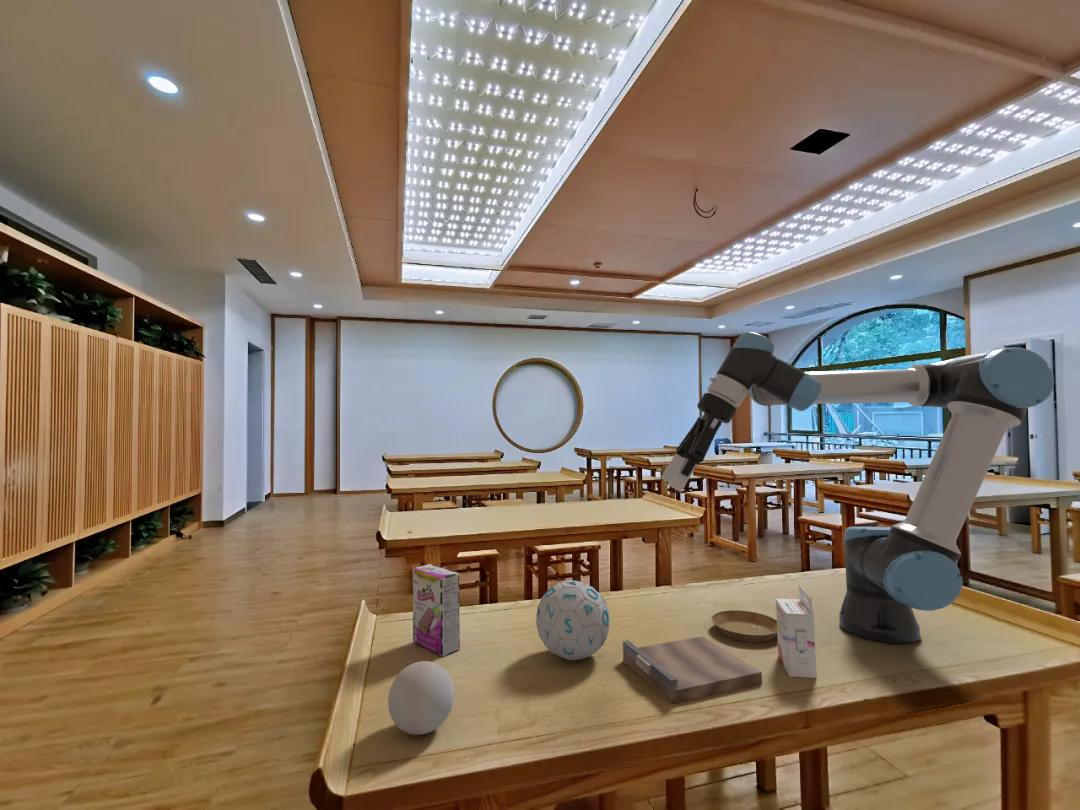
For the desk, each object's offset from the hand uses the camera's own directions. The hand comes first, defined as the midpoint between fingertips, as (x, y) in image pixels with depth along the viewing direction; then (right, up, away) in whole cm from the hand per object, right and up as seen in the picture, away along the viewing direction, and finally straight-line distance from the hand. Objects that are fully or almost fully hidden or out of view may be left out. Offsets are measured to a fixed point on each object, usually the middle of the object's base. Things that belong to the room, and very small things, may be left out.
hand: (670, 484), depth 109 cm
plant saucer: (+19, -35, +5) cm, 40 cm away
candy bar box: (-51, -35, 0) cm, 62 cm away
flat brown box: (0, -34, -13) cm, 36 cm away
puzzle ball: (-21, -35, -5) cm, 41 cm away
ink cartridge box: (+21, -34, -12) cm, 41 cm away
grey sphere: (-47, -34, -30) cm, 65 cm away
